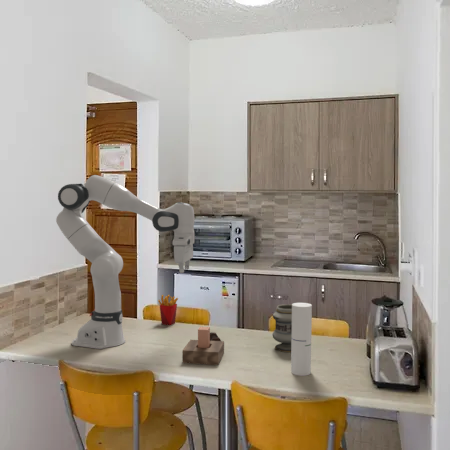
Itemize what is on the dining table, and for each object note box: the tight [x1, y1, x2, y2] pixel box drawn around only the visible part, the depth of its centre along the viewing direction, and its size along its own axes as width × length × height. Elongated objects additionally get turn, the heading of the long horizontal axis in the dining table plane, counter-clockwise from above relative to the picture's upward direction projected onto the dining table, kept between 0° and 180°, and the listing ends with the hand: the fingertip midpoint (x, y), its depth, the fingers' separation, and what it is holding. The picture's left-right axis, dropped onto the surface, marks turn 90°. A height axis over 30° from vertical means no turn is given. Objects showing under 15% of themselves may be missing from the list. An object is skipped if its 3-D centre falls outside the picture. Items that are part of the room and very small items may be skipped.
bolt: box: [210, 331, 222, 341], centre depth 213 cm, size 6×5×15 cm
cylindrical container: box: [290, 302, 313, 377], centre depth 180 cm, size 7×7×25 cm
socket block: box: [181, 339, 225, 366], centre depth 195 cm, size 14×14×5 cm
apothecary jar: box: [272, 303, 292, 353], centre depth 208 cm, size 12×12×18 cm
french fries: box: [157, 294, 179, 327], centre depth 244 cm, size 9×8×15 cm
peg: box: [197, 326, 211, 348], centre depth 195 cm, size 4×4×12 cm
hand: (184, 271), depth 216 cm, fingers open, 8 cm apart
